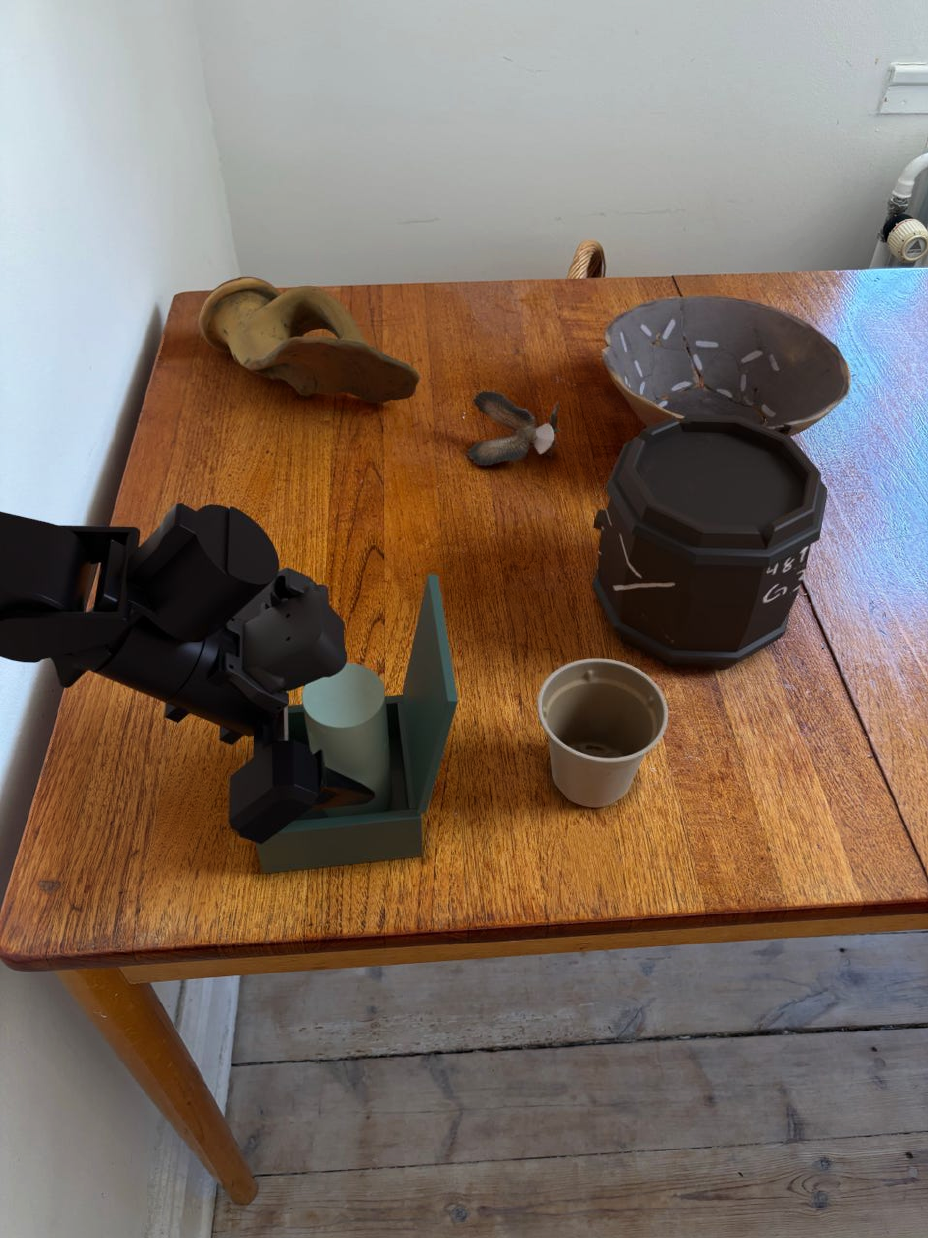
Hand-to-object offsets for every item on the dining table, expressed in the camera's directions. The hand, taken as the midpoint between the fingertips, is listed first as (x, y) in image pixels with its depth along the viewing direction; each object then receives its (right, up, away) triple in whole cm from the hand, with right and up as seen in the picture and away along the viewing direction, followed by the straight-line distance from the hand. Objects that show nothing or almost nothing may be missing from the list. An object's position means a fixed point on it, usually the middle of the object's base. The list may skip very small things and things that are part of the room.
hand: (366, 744), depth 72 cm
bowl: (+33, +29, +37) cm, 58 cm away
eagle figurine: (+12, +26, +35) cm, 45 cm away
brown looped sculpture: (-10, +35, +43) cm, 56 cm away
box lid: (+4, +4, -3) cm, 6 cm away
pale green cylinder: (-1, -4, +4) cm, 6 cm away
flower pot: (+17, -3, +7) cm, 18 cm away
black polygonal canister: (+27, +10, +20) cm, 35 cm away
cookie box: (-2, -5, +5) cm, 7 cm away
